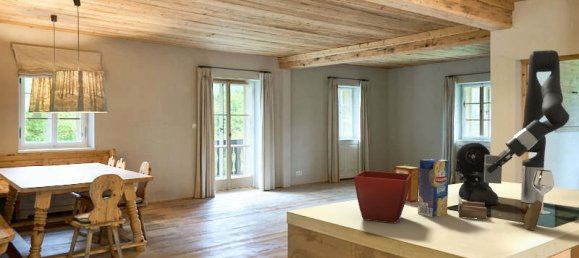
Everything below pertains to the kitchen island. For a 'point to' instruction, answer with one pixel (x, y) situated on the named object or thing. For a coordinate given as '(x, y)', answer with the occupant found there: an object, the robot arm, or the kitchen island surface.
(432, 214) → the beverage box
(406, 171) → the baking soda box
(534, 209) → the rock
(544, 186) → the wineglass
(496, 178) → the grey lidded box
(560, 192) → the kitchen island surface
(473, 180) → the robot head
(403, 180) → the plant pot
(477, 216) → the brown open box
